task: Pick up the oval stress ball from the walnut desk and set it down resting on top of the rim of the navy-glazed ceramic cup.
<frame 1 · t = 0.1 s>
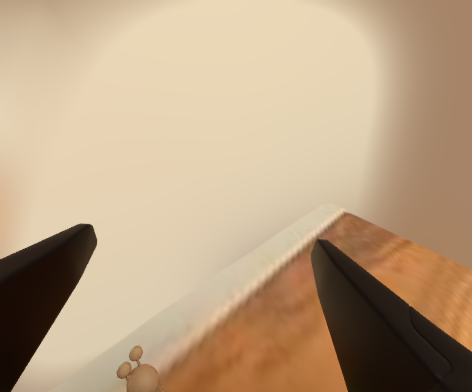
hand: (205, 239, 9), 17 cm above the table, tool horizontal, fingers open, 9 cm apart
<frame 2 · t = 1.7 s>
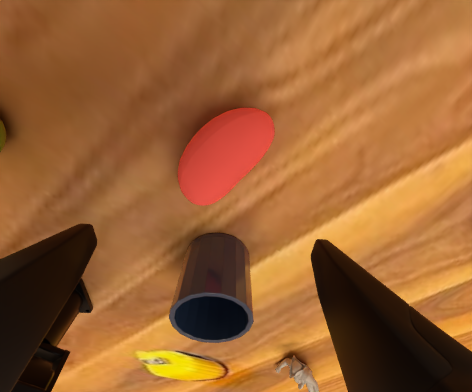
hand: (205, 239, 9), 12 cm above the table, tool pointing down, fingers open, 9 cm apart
stress ball: (223, 148, 20), on the table
cup: (217, 257, 26), on the table
soldier figure: (299, 362, 38), on the table
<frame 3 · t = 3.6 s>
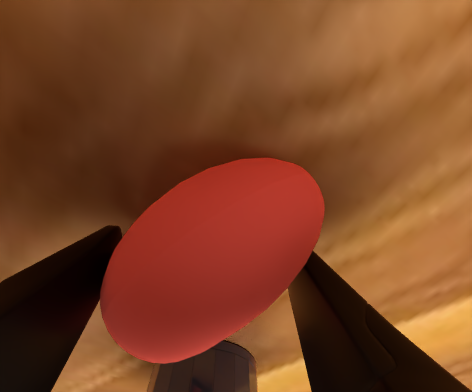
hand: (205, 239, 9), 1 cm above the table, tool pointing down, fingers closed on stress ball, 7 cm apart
stress ball: (209, 221, 10), on the table, touching gripper
cup: (206, 365, 16), on the table
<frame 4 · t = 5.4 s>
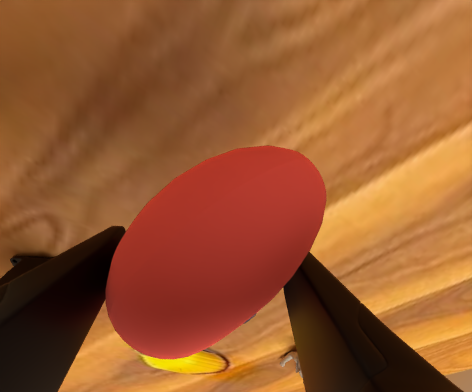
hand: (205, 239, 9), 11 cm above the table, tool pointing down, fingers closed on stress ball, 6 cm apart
stress ball: (211, 216, 10), point 10 cm above the table, touching gripper
soldier figure: (305, 356, 36), on the table
when the fingers open (9 cm above the table, at t = 7.5 s): stress ball stays where it is, resting on cup.
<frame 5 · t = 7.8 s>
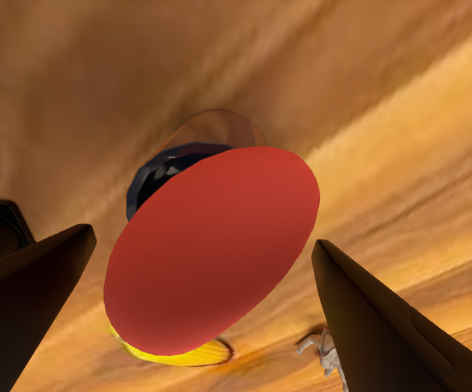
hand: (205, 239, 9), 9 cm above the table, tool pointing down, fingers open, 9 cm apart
stress ball: (209, 216, 10), point 7 cm above the table, touching cup
cup: (220, 161, 17), on the table, touching stress ball
soldier figure: (327, 341, 29), on the table
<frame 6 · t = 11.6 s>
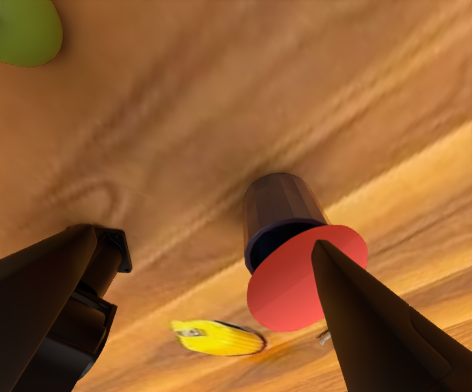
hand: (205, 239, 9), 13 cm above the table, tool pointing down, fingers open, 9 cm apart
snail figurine: (35, 20, 16), on the table
stress ball: (292, 253, 17), point 7 cm above the table, touching cup
cup: (277, 204, 23), on the table, touching stress ball
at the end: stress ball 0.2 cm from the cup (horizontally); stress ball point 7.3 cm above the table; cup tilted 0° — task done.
